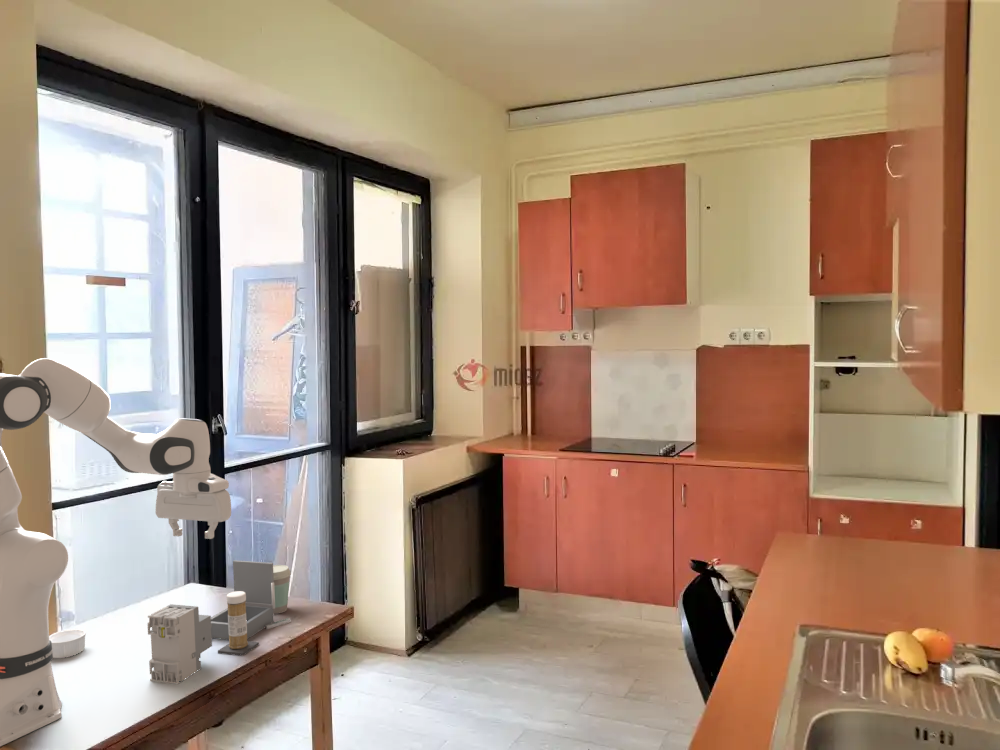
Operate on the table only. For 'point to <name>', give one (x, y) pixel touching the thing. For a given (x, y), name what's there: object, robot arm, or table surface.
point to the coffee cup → (281, 587)
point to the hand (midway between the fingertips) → (193, 537)
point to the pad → (238, 651)
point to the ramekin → (67, 643)
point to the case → (250, 598)
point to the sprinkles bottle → (237, 619)
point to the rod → (277, 623)
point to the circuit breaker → (177, 642)
